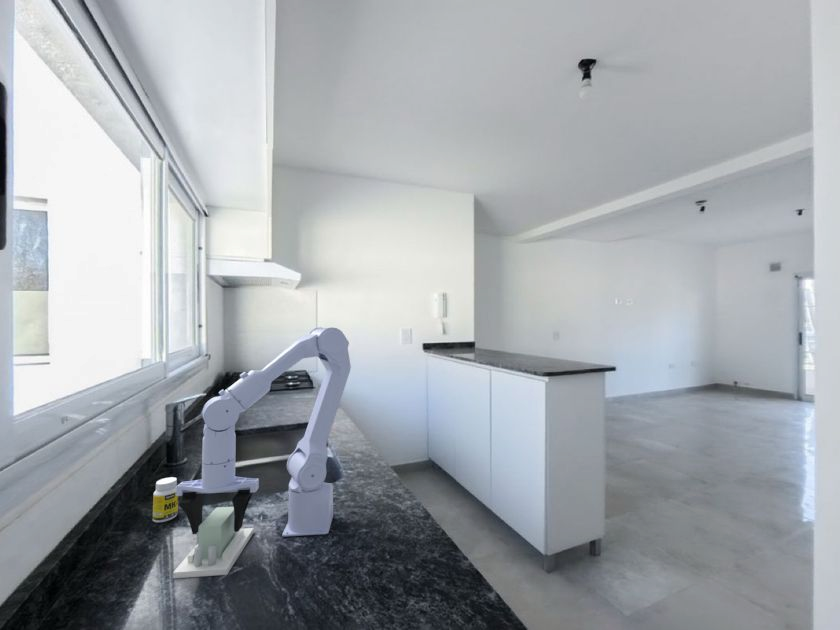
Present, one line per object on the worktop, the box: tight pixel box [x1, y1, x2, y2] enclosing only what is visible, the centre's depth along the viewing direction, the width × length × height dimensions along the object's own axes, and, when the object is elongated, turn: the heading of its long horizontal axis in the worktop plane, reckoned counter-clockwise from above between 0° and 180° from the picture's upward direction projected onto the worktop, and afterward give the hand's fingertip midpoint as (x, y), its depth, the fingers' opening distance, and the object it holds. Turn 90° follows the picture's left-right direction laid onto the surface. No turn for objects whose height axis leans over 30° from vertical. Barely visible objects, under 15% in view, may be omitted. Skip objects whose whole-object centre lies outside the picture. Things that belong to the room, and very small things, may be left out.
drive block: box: [197, 506, 236, 559], centre depth 69 cm, size 4×7×6 cm, turn 6°
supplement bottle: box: [152, 476, 179, 523], centre depth 82 cm, size 5×5×8 cm
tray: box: [172, 527, 255, 579], centre depth 69 cm, size 9×13×4 cm
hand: (217, 530), depth 69 cm, fingers open, 7 cm apart
